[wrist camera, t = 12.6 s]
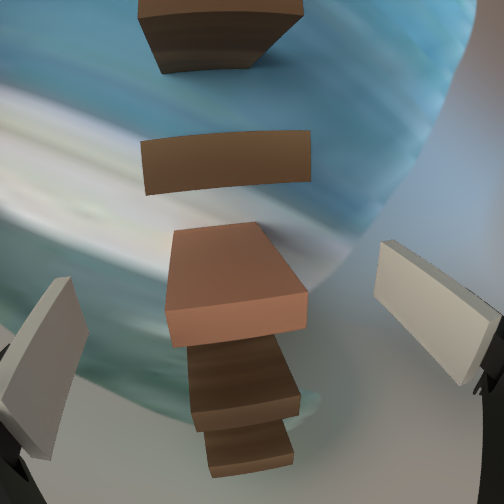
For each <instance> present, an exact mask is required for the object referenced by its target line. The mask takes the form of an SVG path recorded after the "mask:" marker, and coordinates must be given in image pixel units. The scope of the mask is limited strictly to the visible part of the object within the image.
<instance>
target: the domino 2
mask: <svg viewBox="0 0 504 504" xmlns="http://www.w3.org/2000/svg"><path fill="white" fill-rule="evenodd" d="M140 143H141V155H142V166H143V176H144V185H145V193H146V196H148V195H155V194H164V193H172V192H181V191H190V190H200V189H210V188H221V187H232V186H244V185H258V184H273V183H290V182H311V140H310V131H303V130H286V131H247V132H228V133H213V134H201V135H190V136H180V137H171V138H162V139H154V140H147V141H140Z"/></svg>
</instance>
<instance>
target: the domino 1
mask: <svg viewBox="0 0 504 504" xmlns="http://www.w3.org/2000/svg"><path fill="white" fill-rule="evenodd" d="M303 16H304V11H303V0H138V21H139V23H140V25H141V28H142V30H143V32H144V35H145V37H146V39H147V41H148V44H149V46H150V48H151V51H152V53H153V55H154V58H155V60H156V62H157V64H158V67H159V69H160V71H161V73H162V74H167V73H176V72H187V71H199V70H217V69H249V68H250V67H251V66H252V65H253V64H254V63H255V62H256V61H257V60H258V59H259V58H260V57H261V56H262V55H263V54H264V53H265V52H266V51H267V50H268V49H269V48H270V47H271V46H272V45H273V44H274V43H275V42H276V41H277V40H278V39H279V38H280V37H281V36H282V35H283V34H284V33H286V32H287V31H288V30H289V29H290V28H291V27H292V26H293V25H294V24H295V23H296V22H297V21H299V20H300V19H301V18H302V17H303Z"/></svg>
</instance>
